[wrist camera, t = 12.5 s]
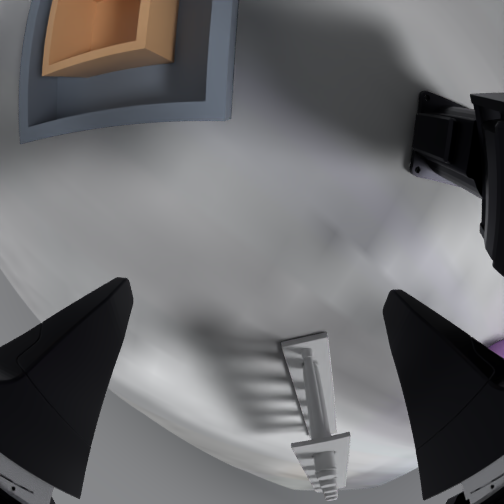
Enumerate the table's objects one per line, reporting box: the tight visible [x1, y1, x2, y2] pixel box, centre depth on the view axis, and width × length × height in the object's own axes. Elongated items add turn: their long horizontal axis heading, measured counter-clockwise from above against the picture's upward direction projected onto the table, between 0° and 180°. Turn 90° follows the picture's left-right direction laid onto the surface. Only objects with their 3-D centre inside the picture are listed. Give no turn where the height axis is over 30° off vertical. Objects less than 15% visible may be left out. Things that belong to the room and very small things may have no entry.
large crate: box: [19, 0, 239, 144], centre depth 11 cm, size 14×14×4 cm
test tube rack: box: [281, 332, 350, 501], centre depth 25 cm, size 25×4×13 cm, turn 15°
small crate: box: [42, 0, 180, 78], centre depth 10 cm, size 6×6×5 cm
